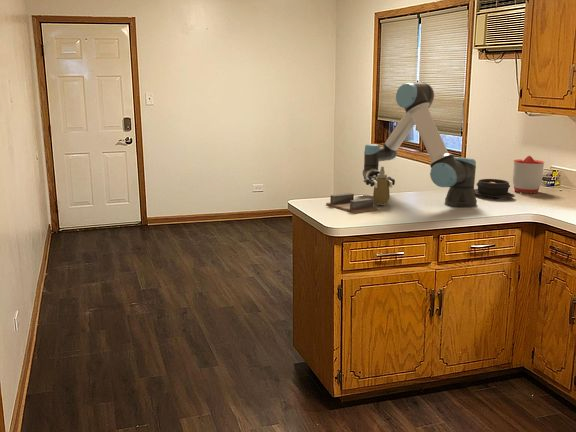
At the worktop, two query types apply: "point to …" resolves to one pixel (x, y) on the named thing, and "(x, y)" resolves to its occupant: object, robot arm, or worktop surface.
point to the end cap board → (347, 208)
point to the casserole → (493, 188)
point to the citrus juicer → (527, 175)
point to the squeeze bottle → (381, 188)
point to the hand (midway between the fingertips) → (384, 184)
